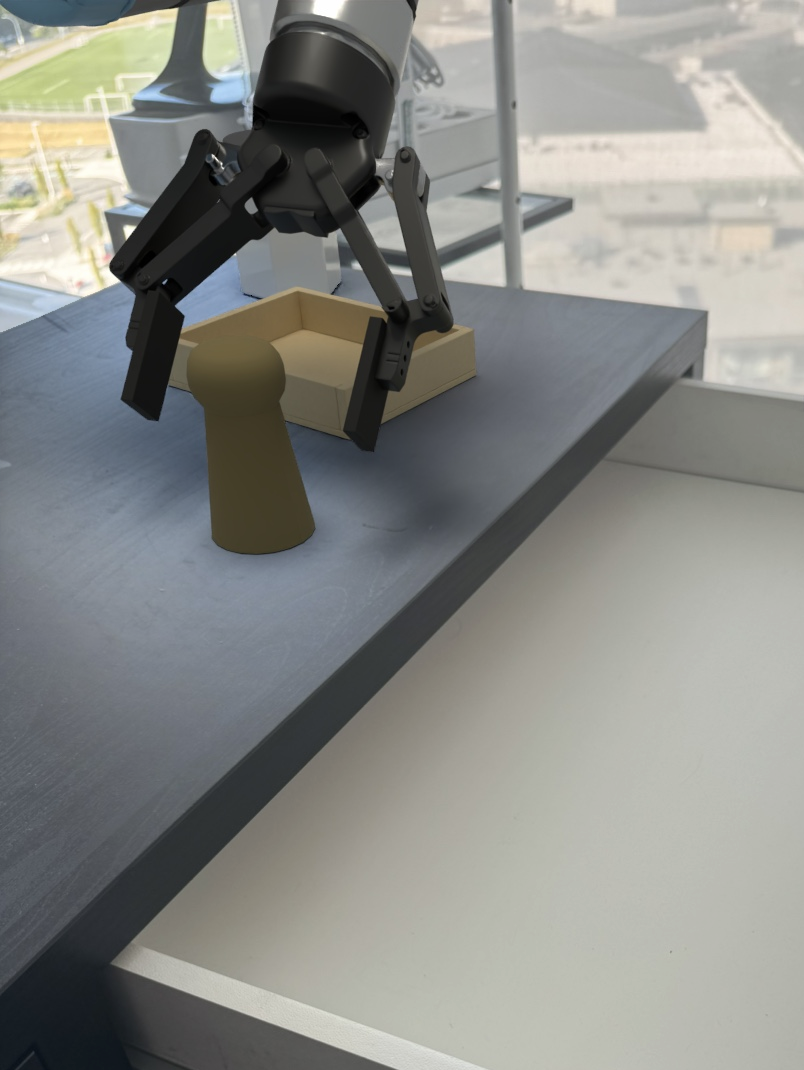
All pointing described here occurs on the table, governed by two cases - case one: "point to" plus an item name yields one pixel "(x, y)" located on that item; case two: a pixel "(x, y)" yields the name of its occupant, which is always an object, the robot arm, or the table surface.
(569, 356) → the table surface
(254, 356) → the cork
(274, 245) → the jar
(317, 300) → the tray
